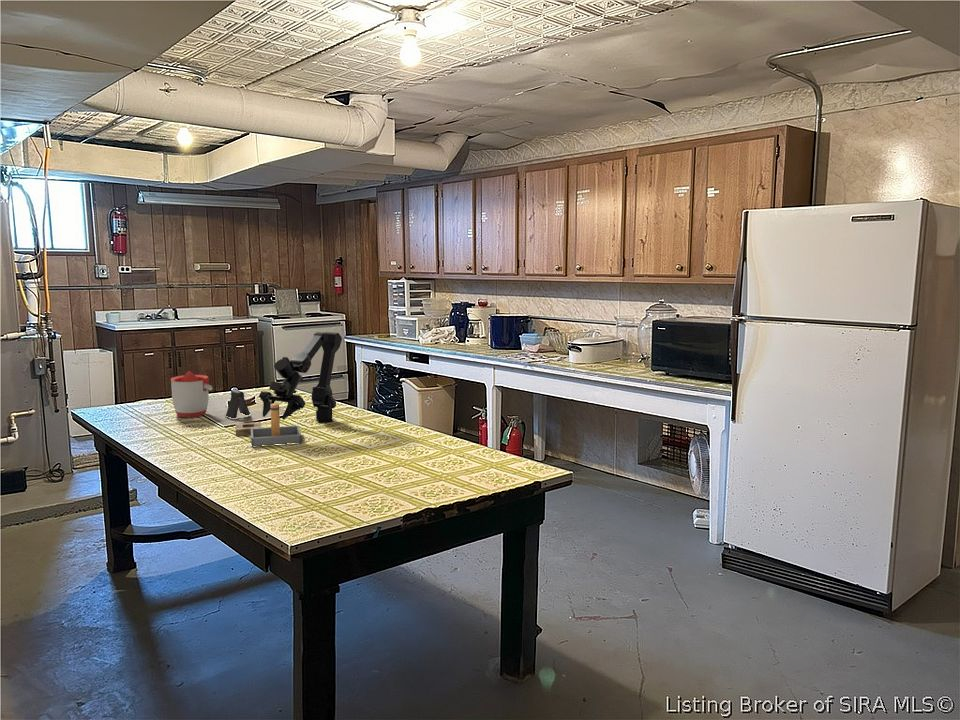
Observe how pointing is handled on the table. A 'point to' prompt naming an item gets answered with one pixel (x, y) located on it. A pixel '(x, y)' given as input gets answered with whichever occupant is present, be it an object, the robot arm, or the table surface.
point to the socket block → (246, 428)
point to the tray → (265, 436)
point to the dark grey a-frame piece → (237, 404)
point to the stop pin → (275, 420)
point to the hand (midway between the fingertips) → (273, 417)
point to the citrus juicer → (190, 394)
